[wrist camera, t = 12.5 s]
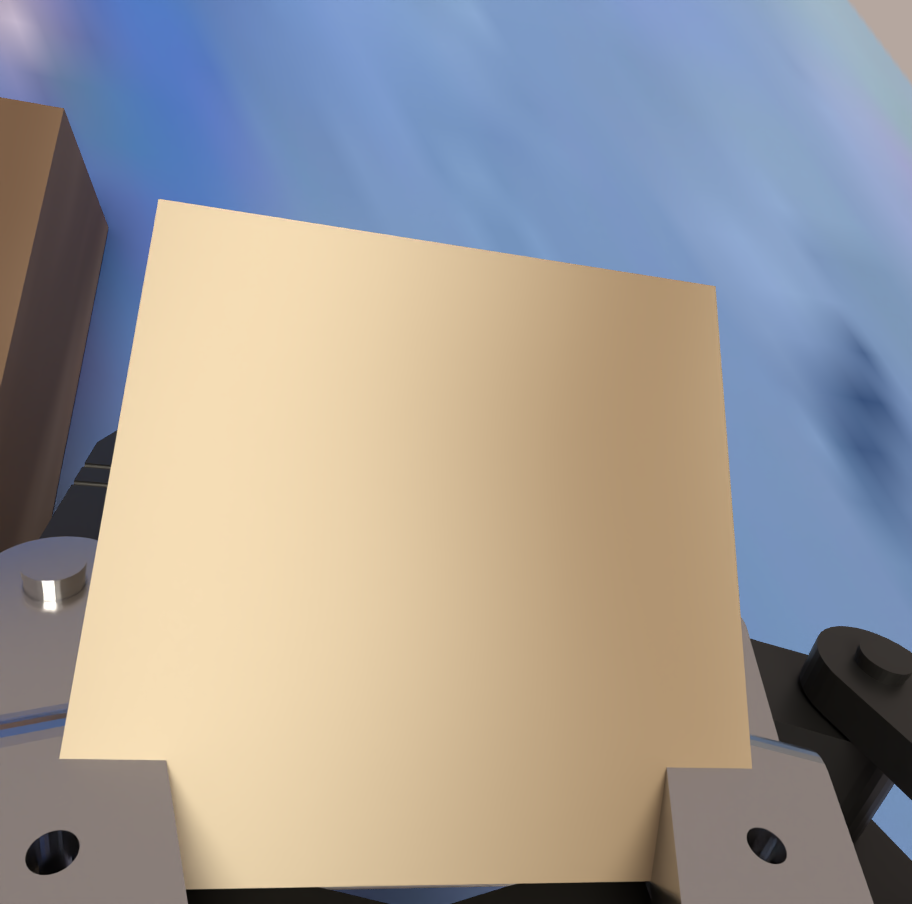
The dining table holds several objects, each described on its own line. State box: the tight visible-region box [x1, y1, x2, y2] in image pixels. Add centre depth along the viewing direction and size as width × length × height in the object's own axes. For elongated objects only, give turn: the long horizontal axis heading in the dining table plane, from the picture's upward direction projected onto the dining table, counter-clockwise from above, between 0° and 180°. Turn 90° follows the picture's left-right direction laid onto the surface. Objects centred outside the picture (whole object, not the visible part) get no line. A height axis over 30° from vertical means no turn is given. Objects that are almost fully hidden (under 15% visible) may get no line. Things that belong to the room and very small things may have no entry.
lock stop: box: [59, 199, 752, 889], centre depth 10 cm, size 4×4×10 cm
